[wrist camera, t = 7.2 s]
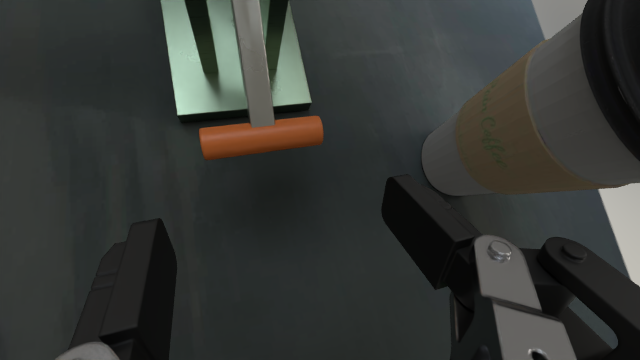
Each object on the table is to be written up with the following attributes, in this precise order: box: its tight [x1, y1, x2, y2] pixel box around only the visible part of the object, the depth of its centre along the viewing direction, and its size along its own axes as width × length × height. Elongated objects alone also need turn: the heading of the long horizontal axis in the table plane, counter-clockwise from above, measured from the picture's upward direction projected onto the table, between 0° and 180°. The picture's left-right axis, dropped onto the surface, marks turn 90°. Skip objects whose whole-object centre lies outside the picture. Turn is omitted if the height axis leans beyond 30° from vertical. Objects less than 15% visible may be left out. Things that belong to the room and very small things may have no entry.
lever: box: [199, 0, 323, 160], centre depth 12 cm, size 12×6×2 cm, turn 13°
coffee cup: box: [421, 0, 640, 196], centre depth 17 cm, size 9×9×15 cm
